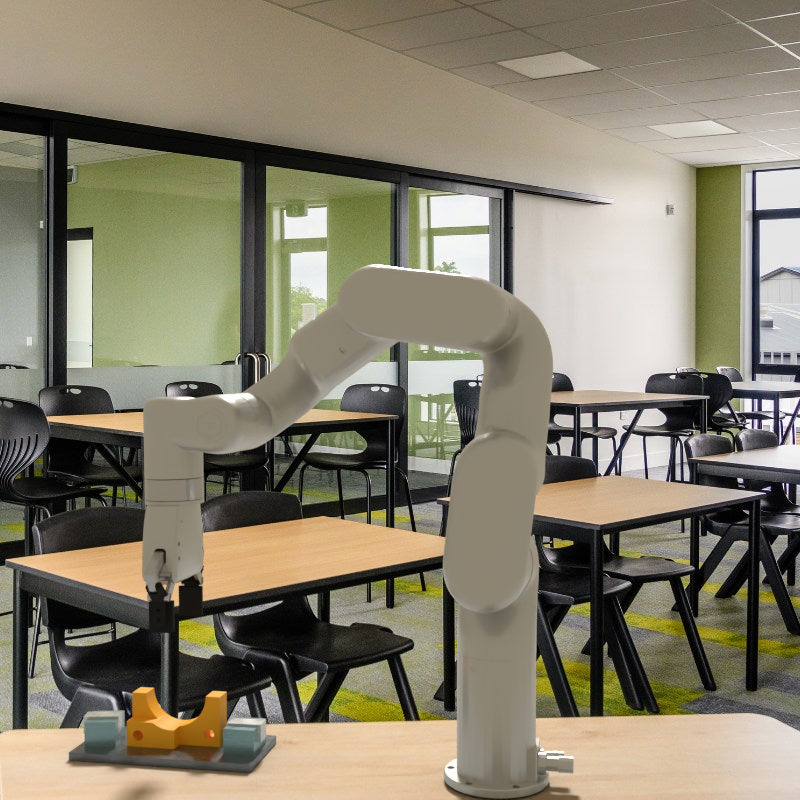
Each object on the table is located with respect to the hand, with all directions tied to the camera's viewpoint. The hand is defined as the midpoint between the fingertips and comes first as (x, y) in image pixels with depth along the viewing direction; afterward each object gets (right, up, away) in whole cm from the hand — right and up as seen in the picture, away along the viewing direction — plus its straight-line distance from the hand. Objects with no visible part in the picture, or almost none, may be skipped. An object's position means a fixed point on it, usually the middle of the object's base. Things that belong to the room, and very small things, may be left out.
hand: (177, 623), depth 139 cm
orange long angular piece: (0, -16, +1) cm, 16 cm away
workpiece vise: (0, -17, 0) cm, 17 cm away
